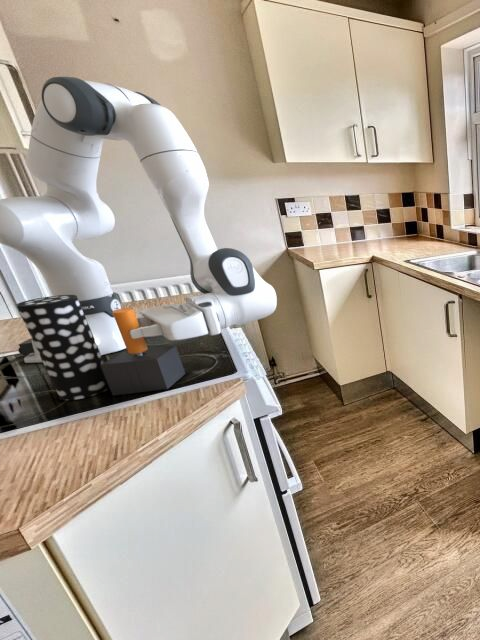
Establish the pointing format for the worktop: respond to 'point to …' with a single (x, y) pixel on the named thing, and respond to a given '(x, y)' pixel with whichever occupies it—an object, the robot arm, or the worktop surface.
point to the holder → (143, 370)
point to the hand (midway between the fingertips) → (125, 331)
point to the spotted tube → (65, 345)
